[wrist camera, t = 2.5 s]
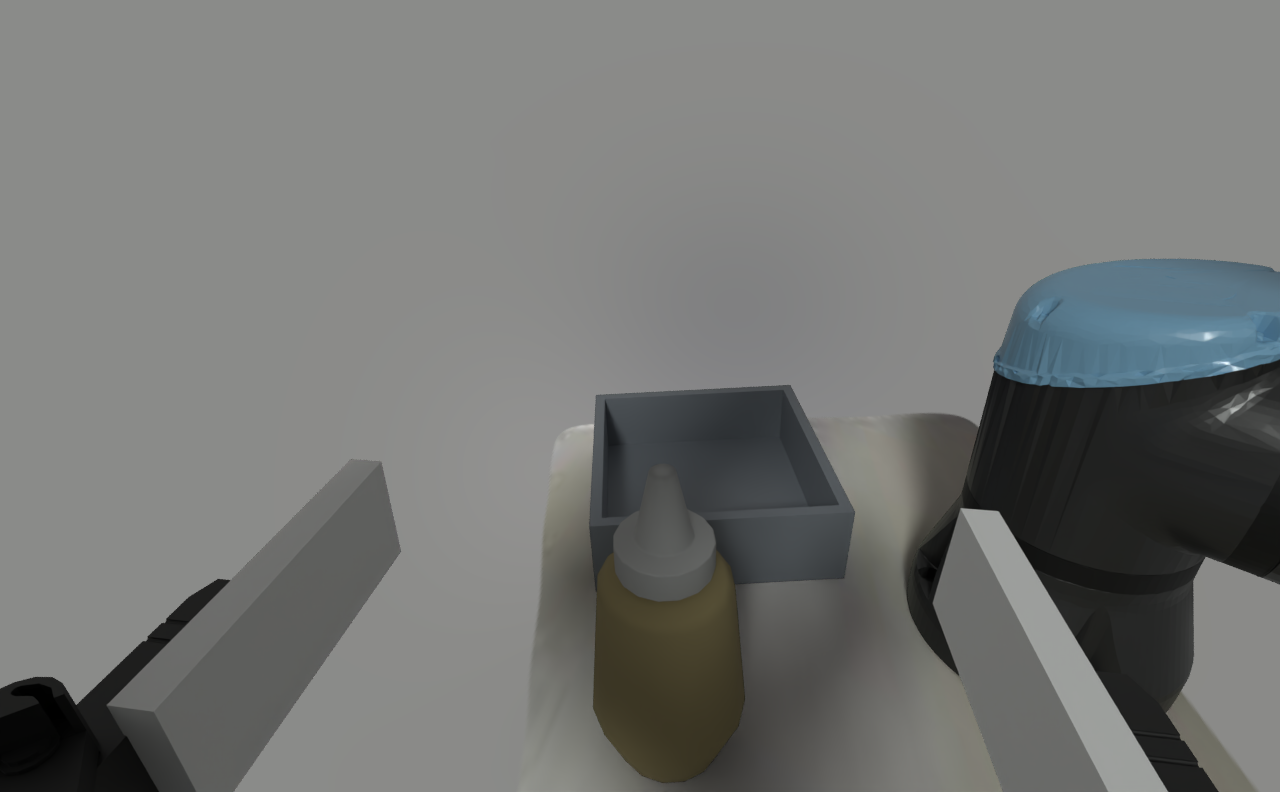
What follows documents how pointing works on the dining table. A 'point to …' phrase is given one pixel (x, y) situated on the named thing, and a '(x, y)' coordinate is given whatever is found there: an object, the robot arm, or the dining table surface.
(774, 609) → the dining table surface
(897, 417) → the dining table surface
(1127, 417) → the robot arm
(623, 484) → the box
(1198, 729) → the dining table surface
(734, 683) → the squeeze bottle
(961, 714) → the dining table surface
